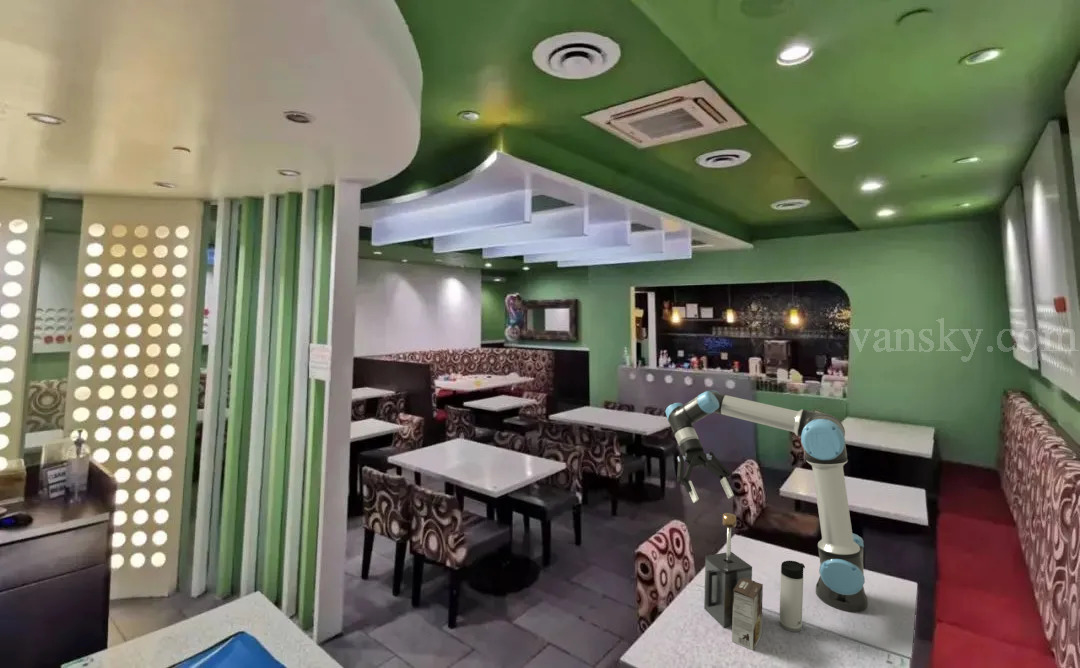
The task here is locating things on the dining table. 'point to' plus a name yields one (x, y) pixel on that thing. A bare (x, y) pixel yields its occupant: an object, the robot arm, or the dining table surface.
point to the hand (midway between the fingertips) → (713, 499)
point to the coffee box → (747, 613)
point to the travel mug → (791, 595)
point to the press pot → (723, 585)
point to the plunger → (729, 531)
